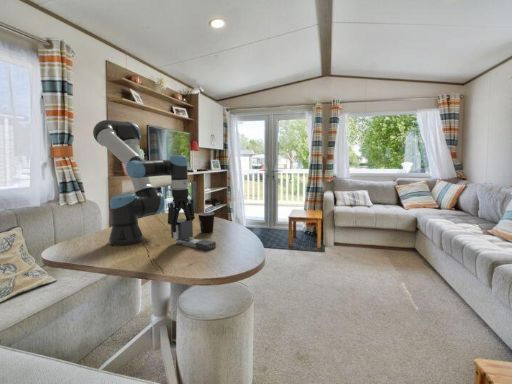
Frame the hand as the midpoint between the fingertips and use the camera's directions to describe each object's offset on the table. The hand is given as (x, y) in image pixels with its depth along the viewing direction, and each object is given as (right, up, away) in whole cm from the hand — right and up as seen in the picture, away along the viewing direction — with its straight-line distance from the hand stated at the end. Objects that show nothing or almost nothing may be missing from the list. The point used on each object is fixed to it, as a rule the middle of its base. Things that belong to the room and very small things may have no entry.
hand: (182, 236), depth 137 cm
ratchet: (+6, -3, -4) cm, 8 cm away
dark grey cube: (0, 0, 0) cm, 0 cm away
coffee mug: (+8, -1, +21) cm, 23 cm away
